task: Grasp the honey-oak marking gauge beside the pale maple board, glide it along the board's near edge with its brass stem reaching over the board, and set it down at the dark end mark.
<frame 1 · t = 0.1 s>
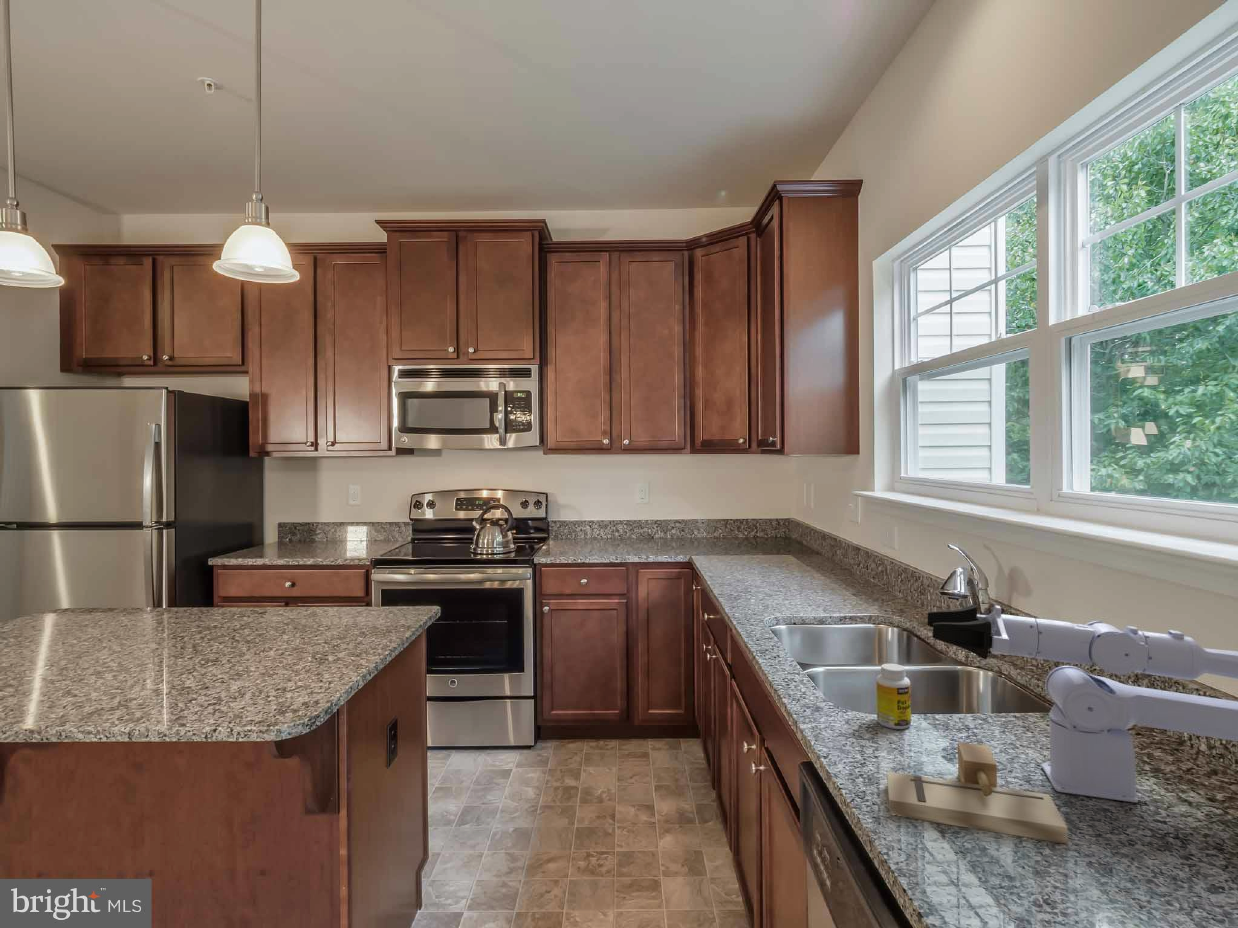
hand: (930, 624, 98), 22 cm above the countertop, tool horizontal, fingers open, 7 cm apart
maple board: (969, 811, 85), on the countertop
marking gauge: (976, 787, 91), on the countertop
supplement bottle: (894, 724, 113), on the countertop
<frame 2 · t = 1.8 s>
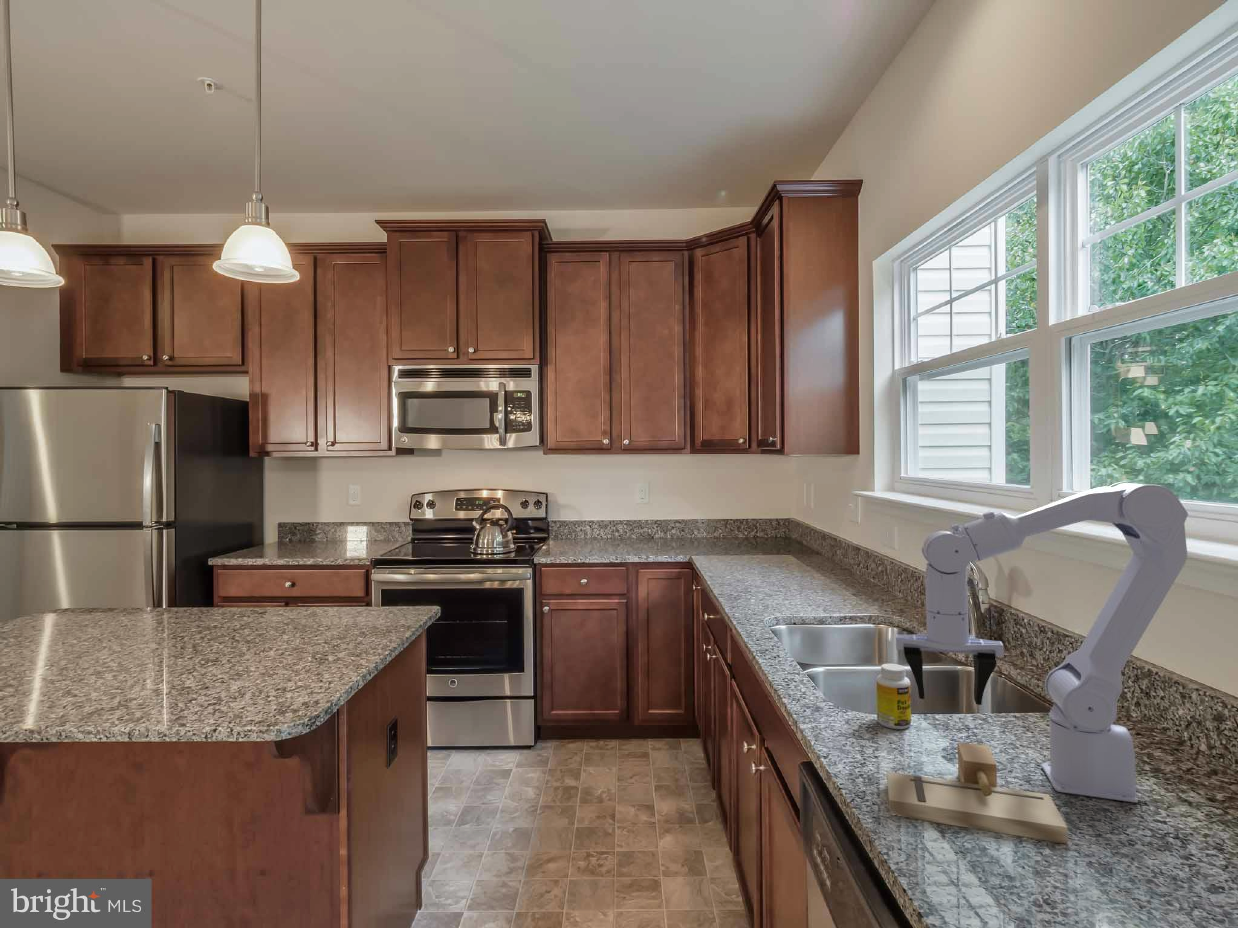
hand: (949, 699, 97), 10 cm above the countertop, tool pointing down, fingers open, 7 cm apart
nothing on the countertop moved.
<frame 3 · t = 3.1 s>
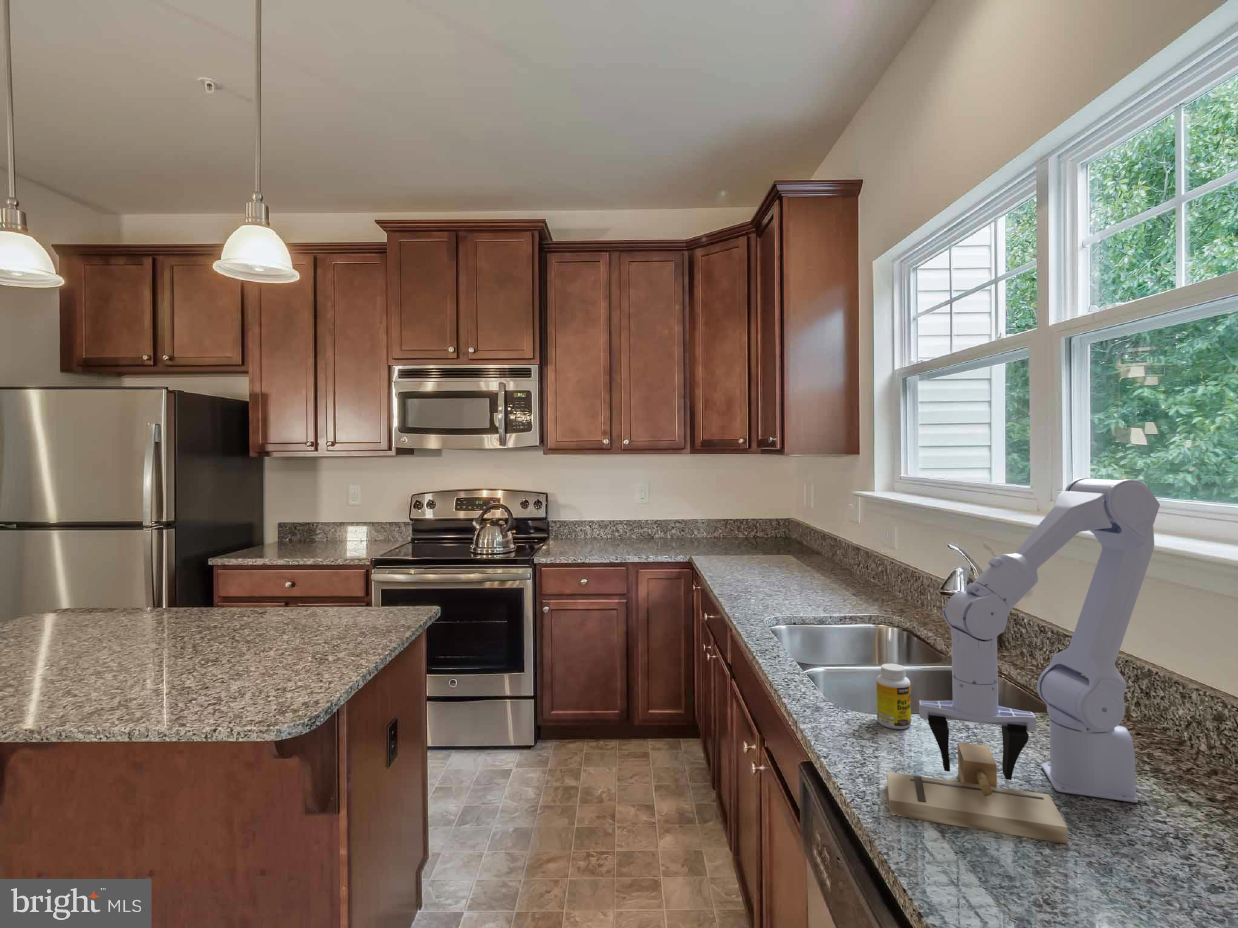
hand: (976, 772, 91), 2 cm above the countertop, tool pointing down, fingers open, 7 cm apart
nothing on the countertop moved.
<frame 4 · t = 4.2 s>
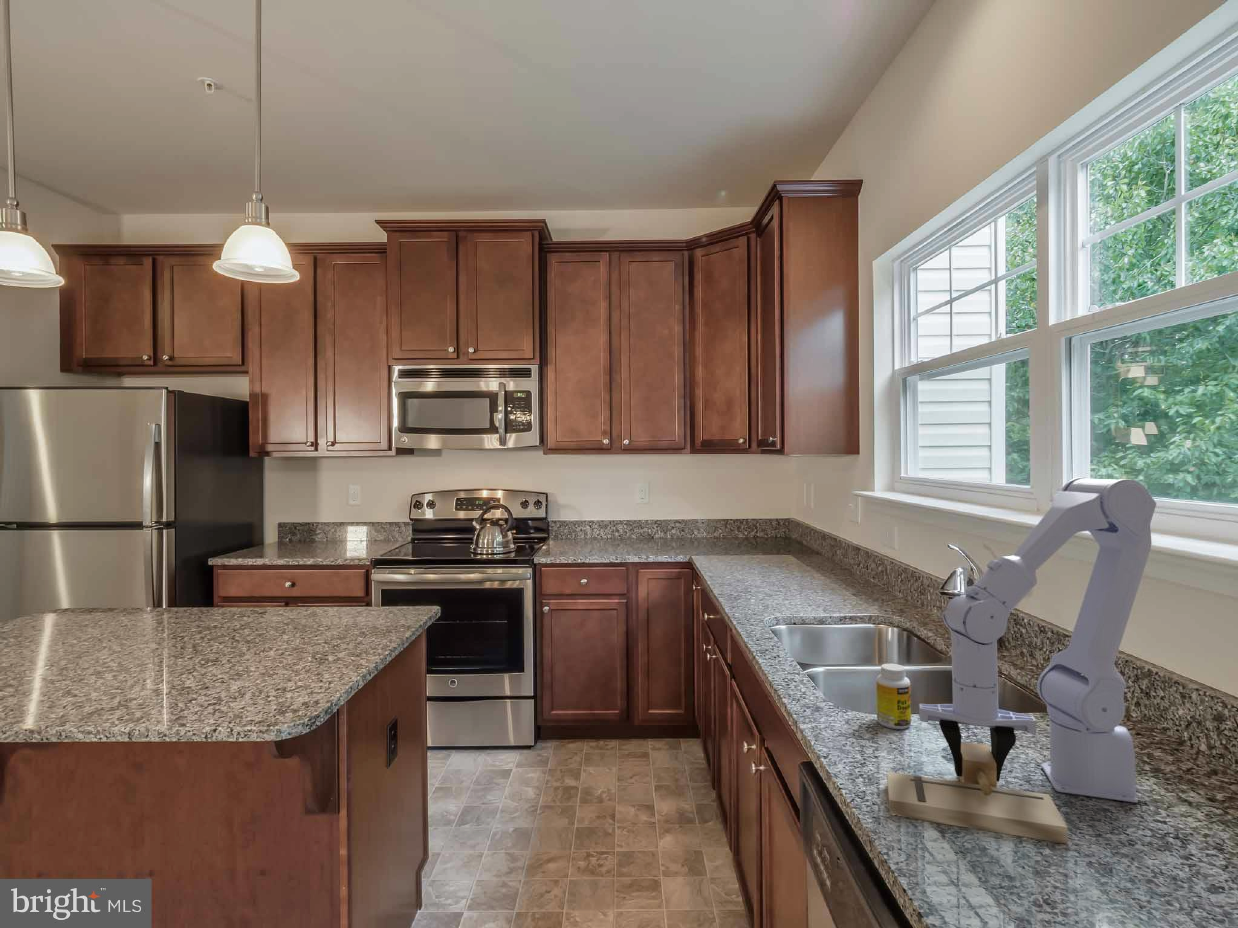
hand: (976, 775, 91), 2 cm above the countertop, tool pointing down, fingers closed on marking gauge, 4 cm apart
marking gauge: (976, 786, 91), on the countertop, touching gripper
everything else where it was.
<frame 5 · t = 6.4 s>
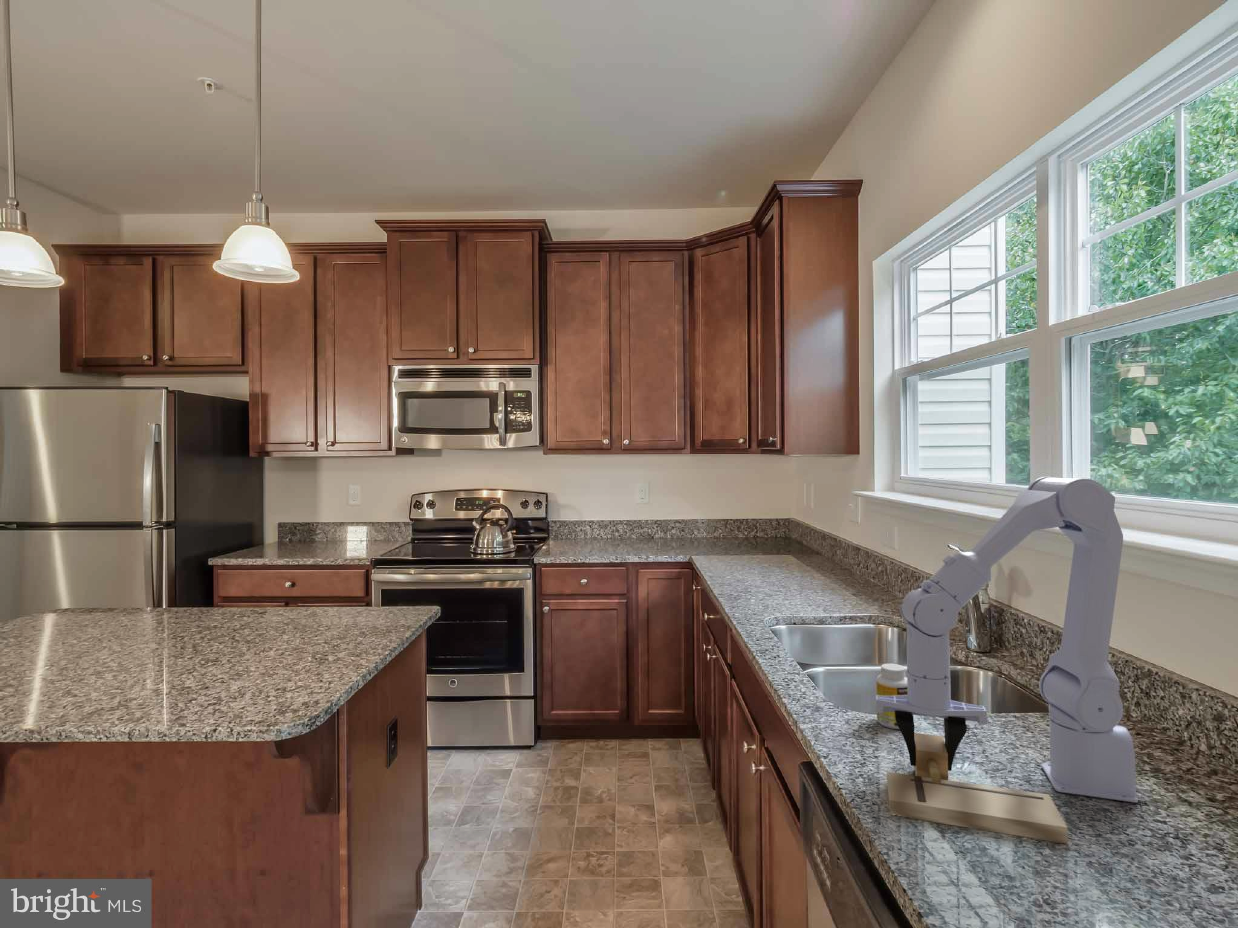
hand: (930, 765, 93), 2 cm above the countertop, tool pointing down, fingers closed on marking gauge, 4 cm apart
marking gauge: (930, 776, 93), point 1 cm above the countertop, touching gripper
everything else where it was.
when the fingers open (2 cm above the countertop, at t = 8.5 s): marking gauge stays where it is, on the countertop.
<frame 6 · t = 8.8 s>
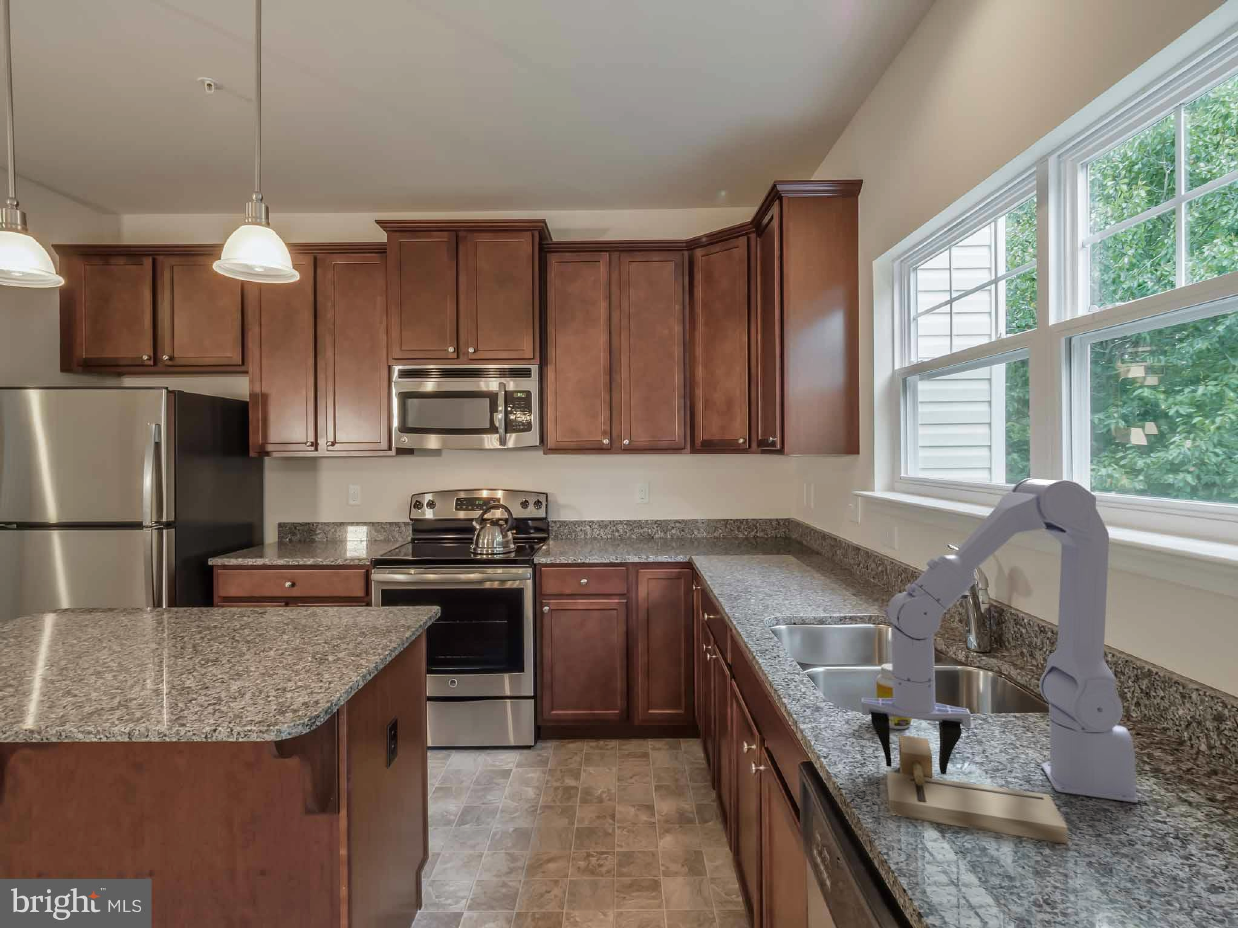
hand: (915, 767, 94), 2 cm above the countertop, tool pointing down, fingers open, 7 cm apart
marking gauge: (915, 778, 94), on the countertop
everything else where it was.
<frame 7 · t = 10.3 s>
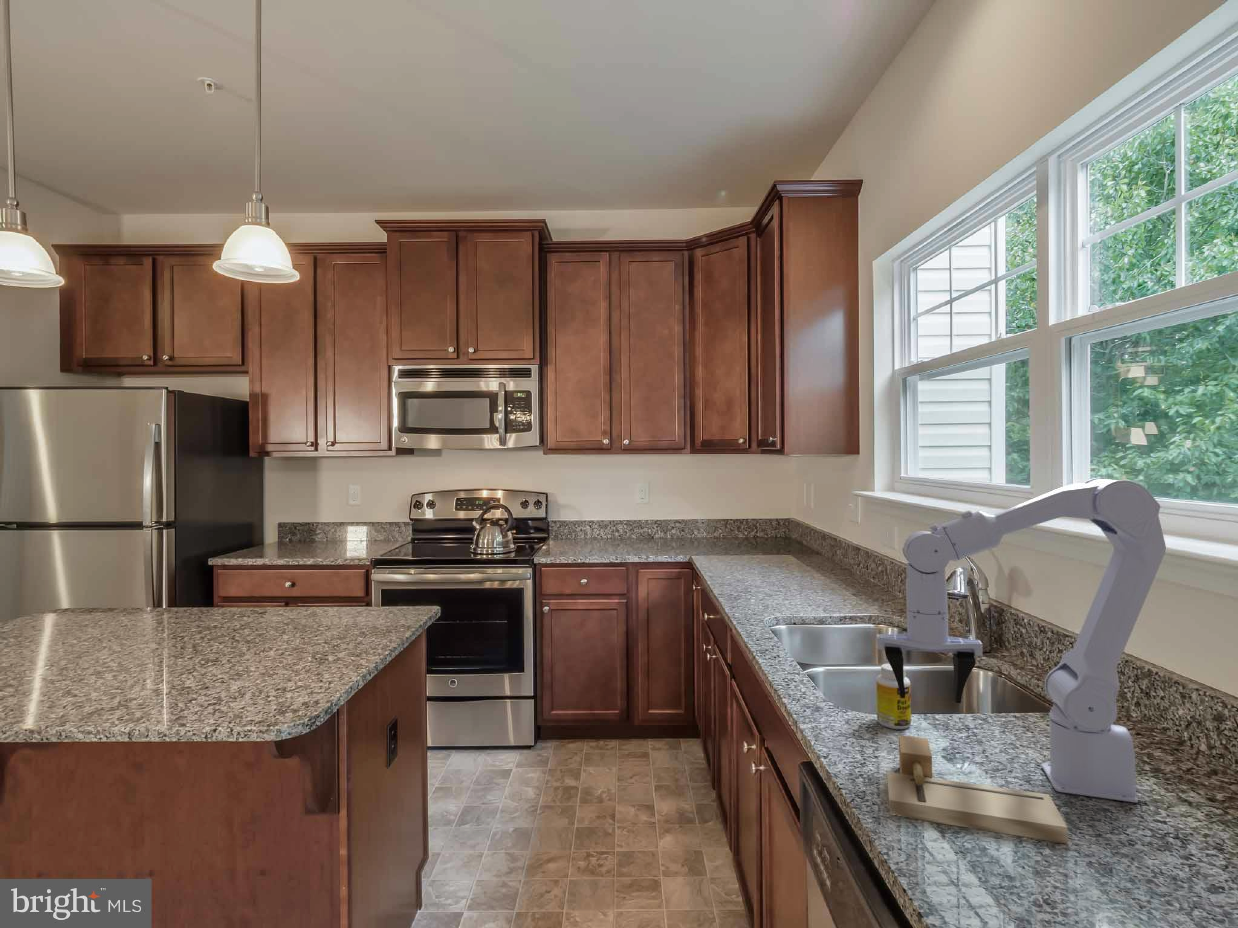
hand: (929, 698, 97), 10 cm above the countertop, tool pointing down, fingers open, 7 cm apart
nothing on the countertop moved.
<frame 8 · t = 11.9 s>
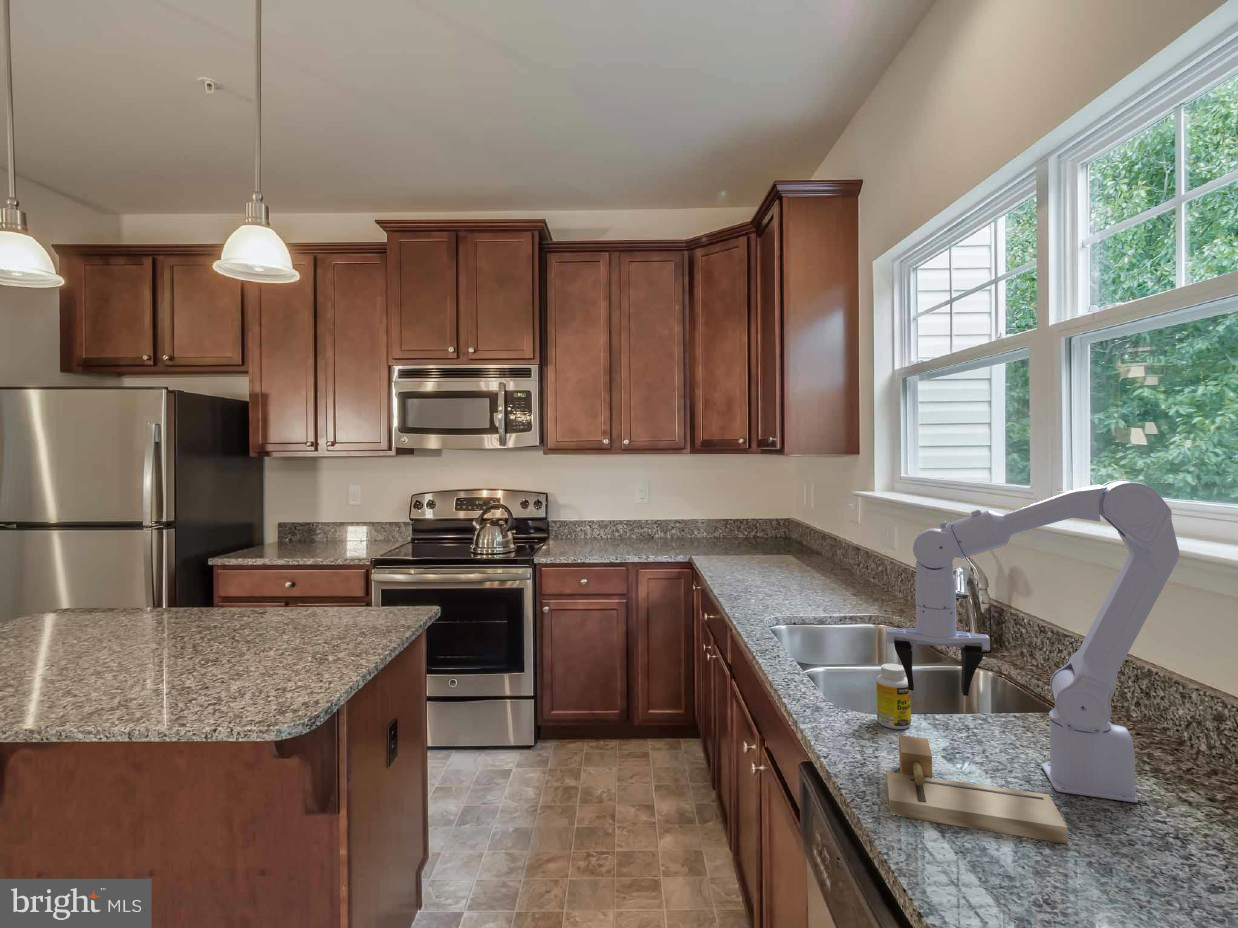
hand: (937, 690, 100), 10 cm above the countertop, tool pointing down, fingers open, 7 cm apart
nothing on the countertop moved.
at the end: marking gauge 0.2 cm from the target spot, on the countertop; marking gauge tilted 0°; the gripper is holding nothing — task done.
